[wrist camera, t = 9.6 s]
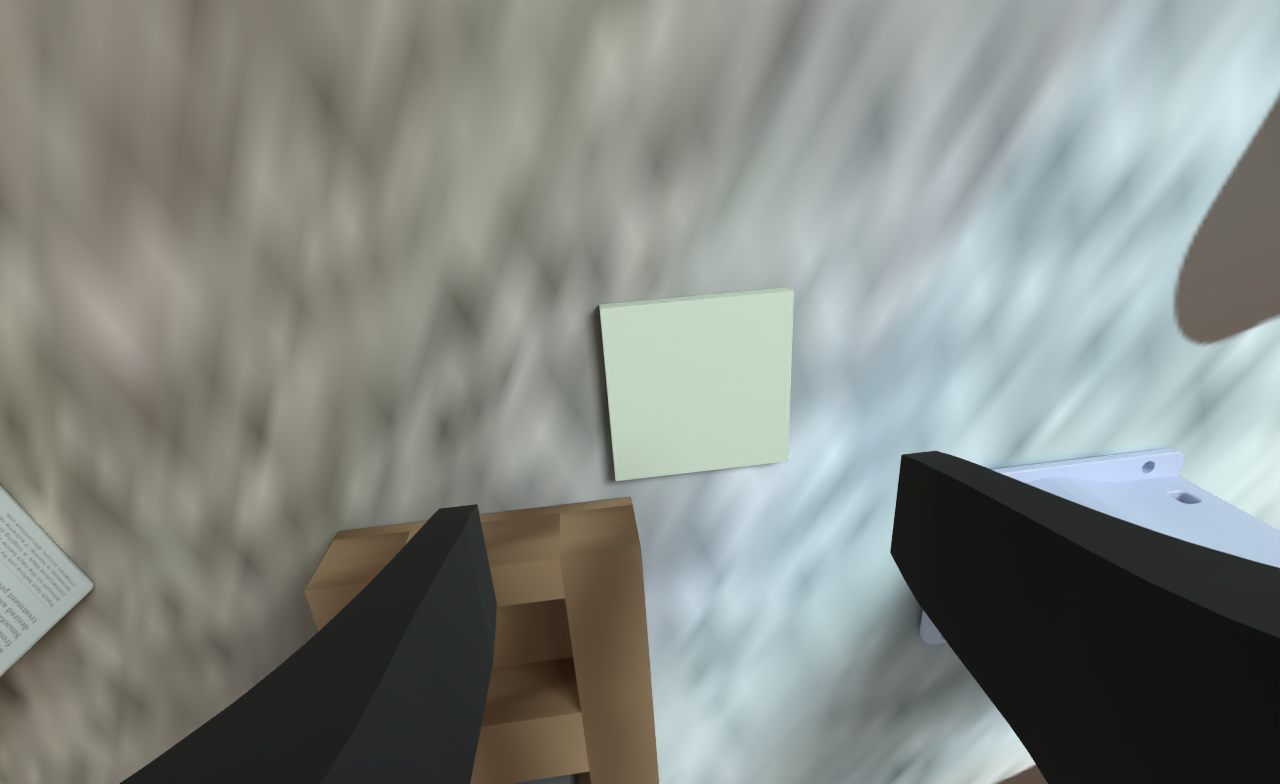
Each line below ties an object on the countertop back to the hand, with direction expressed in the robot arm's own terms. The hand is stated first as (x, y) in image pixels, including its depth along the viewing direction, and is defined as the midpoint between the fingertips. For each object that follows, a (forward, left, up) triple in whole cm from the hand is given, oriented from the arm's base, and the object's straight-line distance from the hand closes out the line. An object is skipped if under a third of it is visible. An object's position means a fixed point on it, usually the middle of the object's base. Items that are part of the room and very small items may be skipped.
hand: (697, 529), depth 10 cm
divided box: (+6, +14, -10) cm, 18 cm away
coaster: (-2, +2, -10) cm, 10 cm away
